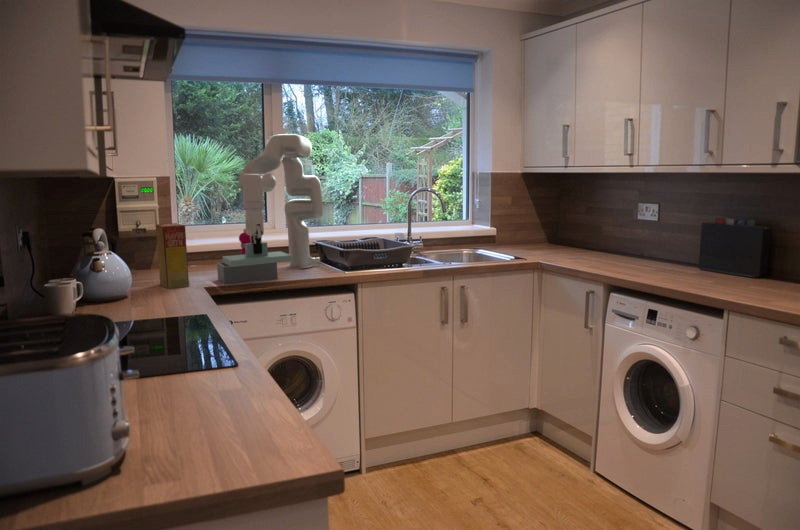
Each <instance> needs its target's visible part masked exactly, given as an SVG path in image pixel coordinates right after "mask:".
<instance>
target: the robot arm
mask: <svg viewBox="0 0 800 530" xmlns="http://www.w3.org/2000/svg"><path fill="white" fill-rule="evenodd" d="M312 148H313V147H312V142H311V141H310V140H309V138H307V137H304V136H303V135H299V134H297V133H283V134H282V133H281V134H273V135H271V136H270V137H269V139H268V141H267V143H266V145H265V147H264V149H263V151H262V153H261V155H259V156H257V157H255V158H254V159H252V160H251V161H249V162H248V163H246V165H245V166H243V169H242V171H241V172H240V174H239V178H238V187H239V189H240V190H241V191H242V192H243V194H242V195H243V197H242V198H243V211H245V218H244V219H245V220H244V221H245V222H244V223H245V229H246V234H247V235H250V240H251V243H254V244H253V249H254V254H262V241H263V240H262V238H263V235H264V233H265V231H264V230H265V227H264V226H265V225H264V216H263V210H265V206H264V205H265V204H264V193H268V192H272V191H273V190H274V189H275V188H276V184H277V181H276V178H275V175H273V174H272V173H270V172H272V171H275V170H277V169H278V168H279V167H280V166H281V165H282V166H283V172H284V182H285V183H284V185H285V190H286V193H287V195H288V196H290V197H309V198H294V199H290V200H288V201H286V202H285V204H284V214H285V218H286V219H285V220H286V227H287V238H288V254H289V255H291V259H292V261H289V263H288V264H286V268H296V269H298V270H302V269H303V270H305V269H309V268H313V267H314V262H315V263H316V262H317V263H318V262H320V261H321V257H320V256H319V257H318V256H317V257H312V256H311V255H310V252H311V251H310V236H309V235H310V231H309V227H308V225H307V224H306V223H305V221H312V220H313V221H315V220H316V221H317V220H320V219H322V217H323V215H324V214H323V213H324V207H323V195H322V193H323V192H322V183H321V180H320V178H318V176H317V175H314V174H313V175H311V174H309V175H305V174H304V166H303V162H302V161H301V159H305V158H308V157H310V156H311V154H312Z"/></svg>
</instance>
